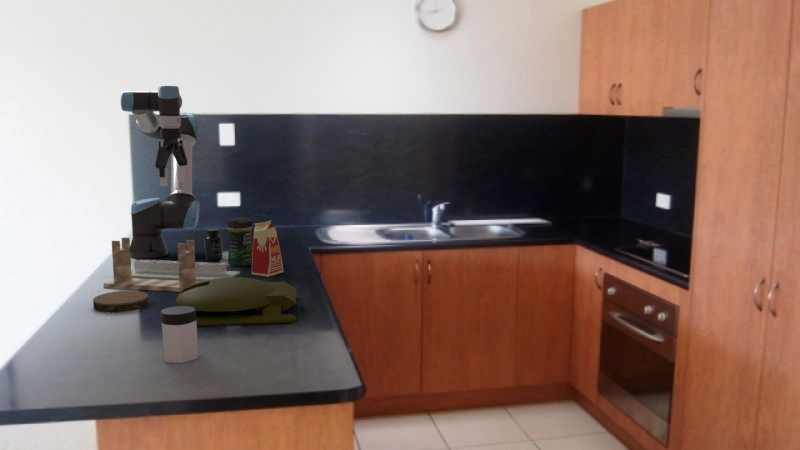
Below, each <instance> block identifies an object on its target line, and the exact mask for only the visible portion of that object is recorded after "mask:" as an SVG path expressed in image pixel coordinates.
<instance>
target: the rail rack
mask: <svg viewBox="0 0 800 450" xmlns="http://www.w3.org/2000/svg"><path fill="white" fill-rule="evenodd" d="M130 245H131V242H130V237H121V240H111V251H112V255H111V256H112V268H113V269H112V271H113V278H112V279H110V280H108V281H105V282H104V283H103V288H104V289H105V288H106V289H121V290H122V289H123V290H137V291H138V290H139V291H140V290H141V291H156V292H157V291H158V292H159V291H160V292H161V291H162V292H179V293H180V292H182V291H183V290H184V289H186V288H187V287H189V286H191V285H194V284H196V283H199V282H200V281H196V271H195V262H196V252H195V249H196V248H195V246H196V245H195V240H194V239H187V240H186V241H185V243H182V242H181V243H179V242H178V243H177V255H178V256H177V257H178V260H177V261H178V262H179V280H167V279H147V278H132V274H131V270H132V257H131V256H130Z"/></svg>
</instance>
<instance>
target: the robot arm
mask: <svg viewBox="0 0 800 450" xmlns="http://www.w3.org/2000/svg"><path fill="white" fill-rule="evenodd" d="M157 90H158V91H140V90H138V91H132V90H129V91H128V90H127V91H122V92H121V93H120V107H121V110H122V111H123V112H127V113H128V112H129V113H130V112H131V113H132V115H133V117H134V118H135V120H136V126H137V128H138V130H139V131H140V132H141V133H142V134H144V135H146V136H148V138H149V137H150V138H153V139H156V140H160V141H158V150H157V154H156V160H155V168H156V169H158V172H159V175H158V176H159V186H160V187H168V186H169V184H168V168H167V164H168V161H169V159H171V163H170V164H171V166H170V167H171V168H170V169H171V170H170V171H171V172H170V194H168V195H167V196H166V201H162V199H161V198H160V197H152V198H145V199H139V200H136V201H133V203H131V207H130V208H131V209H130V210H131V211H130V215H131V229H132V230H131V231H132V238H131V242H130V256H131V259H153V258H154V259H155V258H161V257H165V256H167V255H168V253H169V252H168V247H167V244H166V241H165V239H164V237H163V230H167V231H168V230H190V229H195V228H196V227H197V225H198V222H199V217H200V201H198V200H197V199H196V196H195V195H194V194H193V147H194V146H196V144H197V141H198V140H200V133H199V127H198V119H197V115H196V114H194V113H193V112H192V113H191V112H181V108H182V106H183V99H182V96H181V95H180V88H179V86H178V85H159V86H158V88H157ZM170 156H171V158H170Z"/></svg>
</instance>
